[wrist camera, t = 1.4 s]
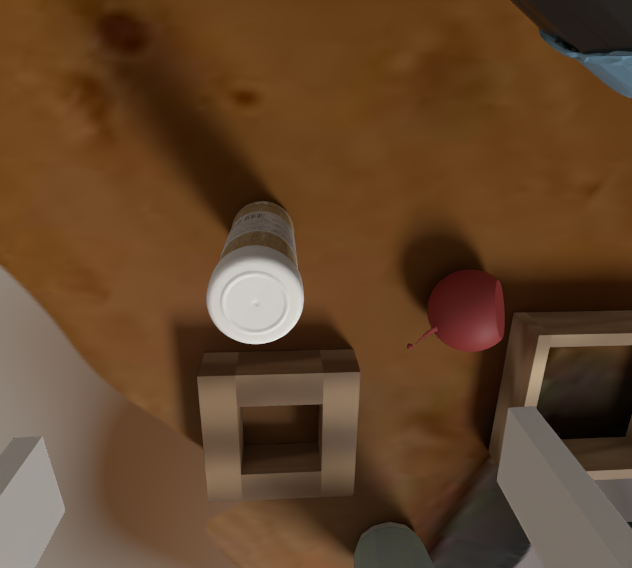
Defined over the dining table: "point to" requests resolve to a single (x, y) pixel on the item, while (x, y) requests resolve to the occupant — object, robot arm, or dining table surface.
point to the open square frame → (528, 369)
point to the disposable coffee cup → (391, 548)
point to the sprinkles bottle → (257, 277)
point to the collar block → (279, 390)
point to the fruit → (467, 311)
